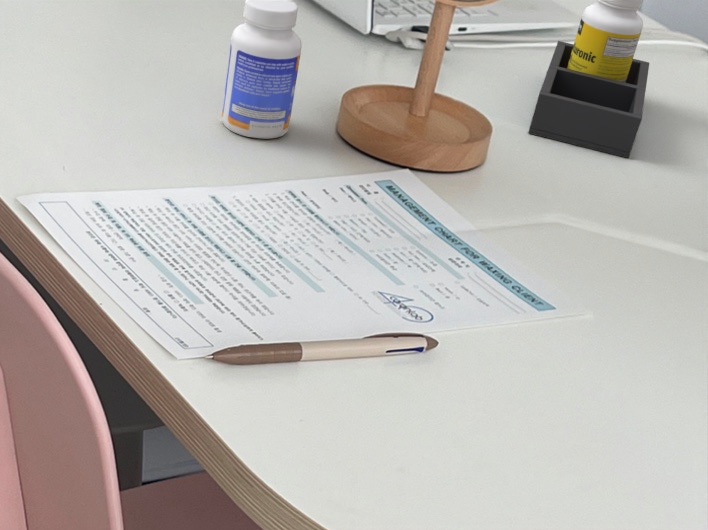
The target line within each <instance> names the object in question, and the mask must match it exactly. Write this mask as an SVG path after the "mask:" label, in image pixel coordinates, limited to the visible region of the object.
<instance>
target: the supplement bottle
mask: <svg viewBox="0 0 708 530" xmlns="http://www.w3.org/2000/svg"><path fill="white" fill-rule="evenodd" d="M596 1H597V2H596V3H593V4H590V5H588V6H587V7H586V8H585V9H584V10H583V12H582V15H581V19H580V21H579V25H578V28H577V31H576V35H575V39H574V42H573V44H574V46H573V49H572V53H571V56H570V59H569V63H568V66H567V69H571V70H575V71H579V72H583V73H587V74H591V75H595V76H599V77H604V78H608V79H612V80H616V81H620V82H624V83H626V79H627V76H628V73H629V70H630V67H631V63H632V60H633V59H634V58H635V57H634V56H635V54H636V51H637V47H638V45H639V40H640V37H641V34H642V31H643V29H644V28H643V27H644V21H643V18H642V16H641V15H640V14H638V10H640V9H641V7H642V4H643V0H596Z"/></svg>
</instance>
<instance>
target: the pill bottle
mask: <svg viewBox="0 0 708 530" xmlns="http://www.w3.org/2000/svg"><path fill="white" fill-rule="evenodd" d="M298 10H299V6H298V5H297V3H296V2H294V1H293V0H245V1H244V6H243V12H242V15H243V16H242V17H243V19H244V21H245V22H243V23H241V24H240V25H238V26H236V27H235V28H234V29H233V30H232V33H231V38H230V47H229V54H228V62H227V72H226V80H225V87H224V95H223V101H222V110H221V122H222V124H223V125H224V127H225V128H227V129H228V130H229V131H230V132H233V133H234V134H237V135H240V136H243V137H248V138H253V139H261V140H263V139H264V140H265V139H266V140H267V139H268V140H269V139H276V138H280V137H282V136H284V135H285V134H287V132H288V130H289V127H290V123H291V116H292V112H293V111H292V110H293V104H294V97H295V91H296V85H297V79H298V74H299V73H298V72H299V67H300V60H301V55H302V48H303V47H302V45H303V44H302V39H301V38H300V36H299V35H298V33H297V32H296V31H294V30H293V28H295V27H296V25H297V18H298Z"/></svg>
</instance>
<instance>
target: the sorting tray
mask: <svg viewBox="0 0 708 530" xmlns="http://www.w3.org/2000/svg"><path fill="white" fill-rule="evenodd" d="M573 46H574V43H569V42H565V41H561V40H558V41H557V43H556V46H555V47H554V48H555V49H554V51H553V54H552V57H551V60H550V63H549V65H548V68H547V71H546V74H545V77H544V78H543V79H544V80H543V82H542V85H541V88H540V91H539V94H538V97H537V100H536V104H535V107H534V110H533V115H532V117H531V118H532V119H531V121H530V125H529V128H528V132H527V133H528V134H531V135H534V136H538V137H542V138H546V139H551V140H554V141H558V142H562V143H565V144H570V145H575V146H578V147H582V148H585V149H590V150H593V151H597V152H602V153H605V154H609V155H613V156H618V157H621V158H622V157H623V158H626V159H630V155H631V153H632V149H633V146H634V143H635V141H636V137H637V133H638V131H639V128H640V125H641V122H642V119H643V111H644V104H645V97H646V91H647V83H648V75H649V69H650V62H648V61H645V60H640V59H638V58H637V59H636V58H633V60H632V63H631V67H630V70H629V73H628V76H627V79H626V83H624V82H620V81H616V80H612V79H608V78H604V77H599V76H595V75H591V74H587V73H583V72H579V71H575V70H571V69H567V66H568V63H569V59H570V56H571V53H572V49H573Z"/></svg>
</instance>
